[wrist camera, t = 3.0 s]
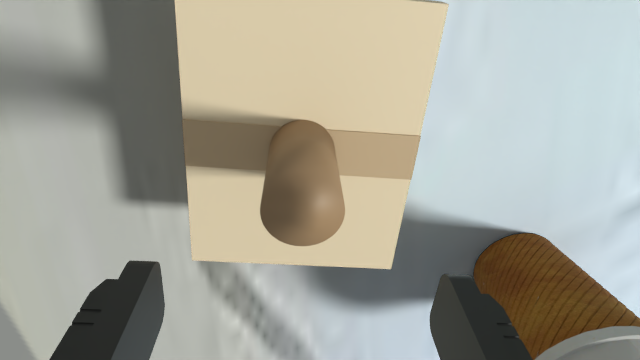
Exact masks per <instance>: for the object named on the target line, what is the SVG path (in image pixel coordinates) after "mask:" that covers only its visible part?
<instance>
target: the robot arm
mask: <svg viewBox="0 0 640 360" xmlns="http://www.w3.org/2000/svg"><path fill="white" fill-rule="evenodd" d="M164 307H165V303H164V294H163V285H162V277H161V268H160V264H159V262H153V261H129V262H128V263H127V264H126V266H125V268H124V270H123V271H122V273H121V275H120V277H119V279H106V280H105V281H104V282H102V283H101V284H100V285H99V286H97V287H96V288H95V289H94V290H93V291H91V292H90V293H89V295H88V297H87V298H86V300H85V302H84V303H83V305H82V307H81V308H80V312H78V313H77V315H76V317H75V318H74V320H73V322H72V326H70V327H69V328H68V330H67V332H66V333H65V335H64V337H63V338H62V340H61V342H60V343H59V345H58V347H57V348H56V350H55V351H54V353H53V355H52V356H51V358H50V360H149V358H150V356H151V353H152V350H153V347H154V345H155V342H156V339H157V336H158V334H159V331H160V328H161V325H162V322H163V317H164ZM430 329H431V334H432V337H433V340H434V343H435V345H436V348H437V351H438V354H439V357H440V360H533V359H532V357H531V356H530V354H529V352H528V350H527V349H526V347H525V345H524V343H523V342H522V340H521V339H519V335H518V333H517V331H516V329H515V327H514V326H512V322H511V320H510V319H509V317H508V315H507V313H506V312H505V310H504V308H503V307H502V306H501V305H500V304H499V303H498V302H497V301H496V300H495V299H494V298H492V297H491V296H490V295H489V294H481V293H480V291H479V289H478V287H477V285H476V283H475V281H474V279H473V278H472V277H471V276H470V275H455V274H443V275H442V277H441V279H440V282H439V285H438V289H437V292H436V295H435V299H434V302H433V305H432V309H431V313H430Z"/></svg>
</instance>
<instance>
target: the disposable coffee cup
mask: <svg viewBox="0 0 640 360" xmlns="http://www.w3.org/2000/svg"><path fill="white" fill-rule="evenodd" d="M474 280H475V283H476V285H477V287H478V289H479V291H480V293H481V294H489V295H490V296H491V297H492V298H494V299H495V300H496V301H497V302H498V303H499V304H500V305H501V306H502V307H503V308H504V310H505V312H506V313H507V315H508V317H509V319H510V320H511V322H512V326H514V327H515V329H516V331H517V333H518V335H519V339H521V340H522V342H523V343H524V345H525V347H526V349H527V350H528V352H529V354H530V356H531V357H532V359H533V360H640V318H638V317H637V316H636V315H635V314H634V313H633V312H632V311H630V310H629V309H628V308H626V306H625V305H624V304H622V303H621V302H620V301H618V300H617V298H615V297H614V296H613V295H611V294H610V292H608V291H607V290H606V289H604V288H603V287H602V286H601V285H600V284H599V283H597V282H596V281H595V280H594V279H593V278H592V277H590V276H589V275H588V274H587V273H586V272H585V271H583V270H582V269H581V268H580V267H579V266H577V265H576V264H575V263H574V262H573V261H572V260H570V259H569V258H568V257H567V256H566V255H565V254H563V253H562V252H561V251H560V250H559V249H558V248H557V247H555V246H554V245H553V244H552V243H551V242H550V241H549V240H547V239H546V238H544V237H542V236H540V235H536V234H529V233H522V234H515V235H511V236H507V237H505V238H503V239H500V240H498V241H496V242H495V243H493V244H492V245H490V246H489V247H488V248H487V249H486V250H485V251H484V252H483V253H482V254H481V255H480V257H479V258H478V260H477V262H476V264H475V267H474Z"/></svg>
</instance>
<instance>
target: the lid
mask: <svg viewBox="0 0 640 360" xmlns="http://www.w3.org/2000/svg"><path fill="white" fill-rule="evenodd" d="M448 5H449V4H447V3H444V2H439V1H429V0H175V14H176V29H177V43H178V58H179V73H180V88H181V103H182V118H183V119H182V126H183V141H184V155H185V166H186V177H187V192H188V206H189V221H190V236H191V251H192V260H196V261H218V262H241V263H264V264H286V265H309V266H332V267H354V268H377V269H391V267H392V263H393V258H394V254H395V249H396V244H397V240H398V235H399V231H400V226H401V221H402V217H403V212H404V208H405V203H406V198H407V194H408V189H409V185H410V180H411V178H412V174H413V169H414V165H415V160H416V155H417V151H418V146H419V142H420V137H421V136H420V134H421V129H422V125H423V120H424V116H425V111H426V106H427V102H428V97H429V93H430V88H431V83H432V79H433V74H434V70H435V65H436V60H437V56H438V51H439V47H440V42H441V37H442V33H443V28H444V24H445V19H446V14H447V10H448Z"/></svg>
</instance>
